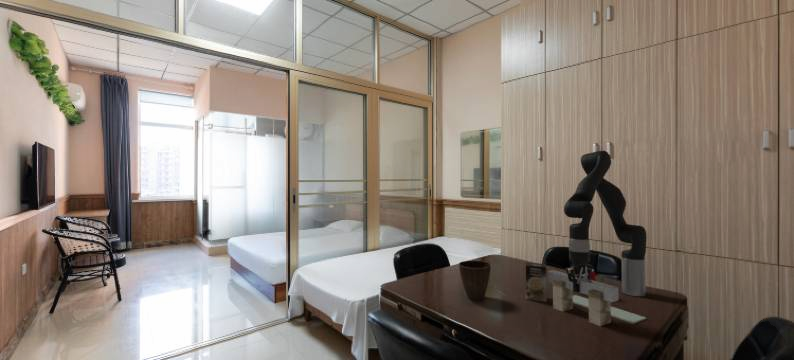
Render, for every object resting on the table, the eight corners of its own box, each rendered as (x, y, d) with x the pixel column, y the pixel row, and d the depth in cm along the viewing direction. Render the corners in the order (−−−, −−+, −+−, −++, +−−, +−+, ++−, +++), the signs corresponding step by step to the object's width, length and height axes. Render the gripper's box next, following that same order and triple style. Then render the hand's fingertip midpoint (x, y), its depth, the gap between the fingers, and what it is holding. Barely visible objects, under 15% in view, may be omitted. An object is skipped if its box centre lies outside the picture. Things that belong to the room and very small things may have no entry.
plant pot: (456, 300, 154) (455, 266, 154) (462, 290, 168) (462, 259, 168) (489, 304, 149) (488, 269, 149) (493, 294, 162) (492, 261, 163)
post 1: (563, 305, 147) (563, 277, 147) (572, 308, 143) (572, 279, 143) (553, 308, 144) (552, 279, 144) (562, 311, 140) (561, 282, 140)
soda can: (598, 297, 156) (598, 271, 156) (582, 296, 158) (581, 271, 158) (592, 292, 163) (592, 267, 163) (577, 291, 165) (576, 267, 165)
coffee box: (525, 299, 155) (524, 265, 155) (526, 295, 161) (525, 262, 161) (546, 302, 151) (546, 267, 151) (547, 297, 157) (546, 263, 157)
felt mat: (575, 296, 158) (575, 295, 158) (646, 319, 131) (646, 317, 131) (563, 299, 154) (563, 298, 154) (633, 323, 127) (633, 322, 127)
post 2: (599, 318, 133) (599, 287, 133) (610, 322, 129) (610, 290, 129) (588, 321, 130) (588, 290, 130) (600, 326, 126) (599, 293, 126)
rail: (553, 281, 150) (553, 269, 150) (618, 300, 125) (618, 287, 125) (547, 282, 148) (547, 271, 148) (612, 302, 123) (611, 288, 123)
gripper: (581, 246, 143) (582, 286, 143) (559, 249, 136) (560, 291, 136) (598, 249, 136) (599, 291, 136) (576, 253, 130) (577, 296, 130)
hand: (579, 290), depth 136 cm, fingers closed on rail, 4 cm apart
